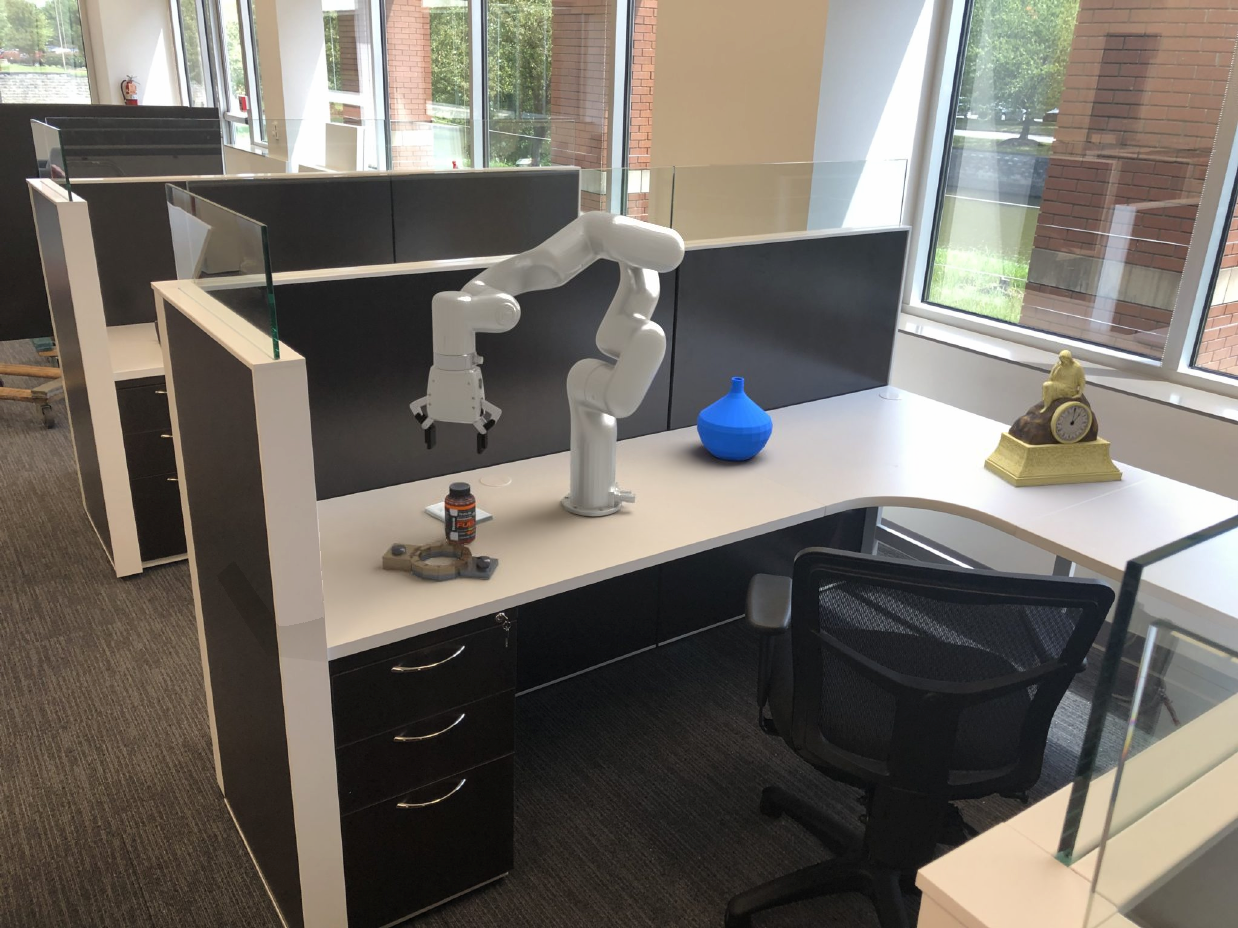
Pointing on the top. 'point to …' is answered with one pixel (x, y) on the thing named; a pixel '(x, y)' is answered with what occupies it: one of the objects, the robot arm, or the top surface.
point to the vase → (734, 425)
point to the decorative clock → (1055, 437)
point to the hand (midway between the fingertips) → (456, 449)
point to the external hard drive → (439, 513)
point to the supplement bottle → (460, 514)
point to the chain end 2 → (476, 569)
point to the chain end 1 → (410, 554)
